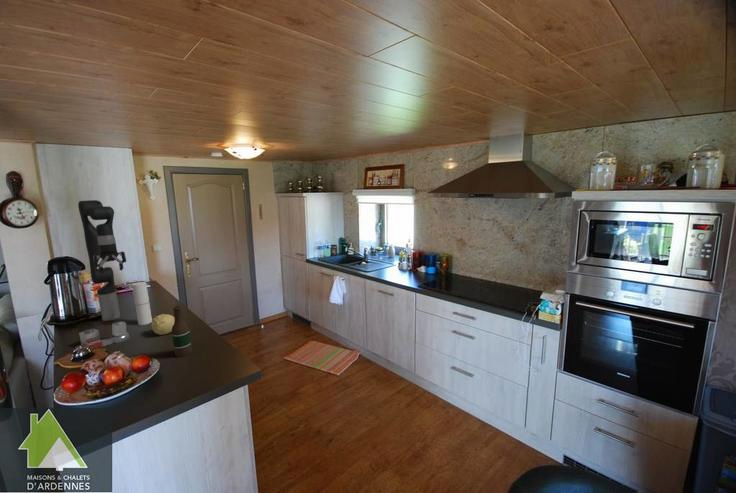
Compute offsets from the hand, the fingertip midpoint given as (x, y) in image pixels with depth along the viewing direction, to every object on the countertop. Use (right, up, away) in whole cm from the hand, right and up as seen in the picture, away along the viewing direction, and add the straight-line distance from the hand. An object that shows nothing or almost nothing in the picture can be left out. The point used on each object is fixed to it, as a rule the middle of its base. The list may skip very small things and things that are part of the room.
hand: (112, 271), depth 185 cm
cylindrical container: (+6, -33, +19) cm, 39 cm away
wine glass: (+3, -38, -10) cm, 39 cm away
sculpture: (+28, -35, +4) cm, 45 cm away
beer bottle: (+52, -39, -21) cm, 68 cm away
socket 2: (+8, -34, -5) cm, 35 cm away
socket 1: (-5, -38, -7) cm, 39 cm away
